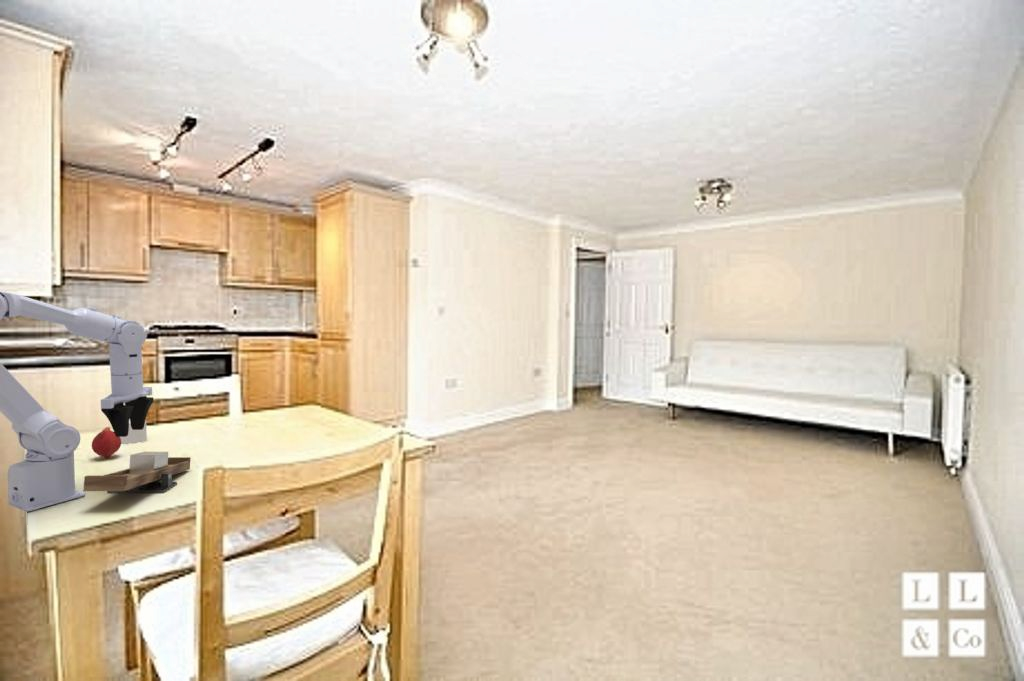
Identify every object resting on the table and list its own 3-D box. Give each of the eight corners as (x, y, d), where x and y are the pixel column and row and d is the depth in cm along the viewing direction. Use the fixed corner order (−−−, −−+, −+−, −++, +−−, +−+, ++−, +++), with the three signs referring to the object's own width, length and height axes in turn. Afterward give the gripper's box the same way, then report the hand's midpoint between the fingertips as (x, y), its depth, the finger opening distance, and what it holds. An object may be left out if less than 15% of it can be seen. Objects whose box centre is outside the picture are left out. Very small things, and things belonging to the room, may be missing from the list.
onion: (104, 462, 125) (104, 430, 125) (86, 460, 126) (85, 428, 126) (127, 455, 131) (126, 425, 130) (108, 453, 132) (108, 423, 131)
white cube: (144, 437, 148) (143, 417, 148) (146, 442, 144) (146, 421, 143) (118, 440, 144) (117, 419, 144) (120, 445, 140) (119, 424, 139)
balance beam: (124, 491, 97) (125, 476, 98) (82, 491, 97) (83, 476, 97) (190, 469, 121) (191, 457, 121) (157, 469, 120) (157, 457, 121)
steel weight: (153, 473, 109) (155, 454, 109) (128, 473, 108) (130, 454, 108) (167, 469, 114) (168, 451, 114) (143, 469, 113) (144, 451, 113)
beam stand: (163, 493, 107) (163, 476, 107) (107, 493, 106) (106, 477, 106) (177, 484, 112) (176, 469, 112) (122, 484, 111) (122, 469, 111)
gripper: (124, 379, 107) (127, 442, 108) (164, 368, 121) (167, 424, 122) (88, 379, 106) (92, 442, 107) (133, 368, 120) (136, 424, 122)
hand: (129, 432), depth 115 cm, fingers open, 5 cm apart
